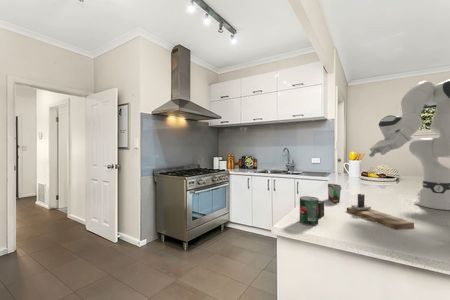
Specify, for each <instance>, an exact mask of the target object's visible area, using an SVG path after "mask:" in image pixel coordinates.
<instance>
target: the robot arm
mask: <svg viewBox="0 0 450 300" xmlns="http://www.w3.org/2000/svg"><path fill="white" fill-rule="evenodd" d="M400 101H401V102H400V105H401V110H402V113H403V114H402V115H401V116H397V115H392V114H391V115H387V116H384V117H383V118H382V119H381V120H380V121H379V123H378V128H379V129H380V131H381V133H382V135H383V137H384V139H381V140H378V141H377V142H376V143H375V144H373V145H372V146H371V147H370V148H369V151H371V152H370V153H369V154H368V156H369V157H370V158H373V157H375V155H376V154H380V155H382V156H383V155H386V154H387V153H389V152H390V151H393V150H396V149H400V148H401V147H403V146H404V145H405V144H407V143H408V142H410V143H409V145H408V150H409V152H410V153H411V155H412V156H413V157H414V156H415V157H416V159H418V160H419V162H420V163H421V166H422V170H423V180H422V188H421V189H420V190H419V191H418V192H417V200H415V201H414V205H416V206H420V207H424V208H430V209H433V210H434V209H435V210H446V211H450V167H449V166H448V165H446V164H444V163H441V161H440V160H439V159H438V158H450V79H447V80H444V81H443V82H440V83H437V84H435V85H434V83H432V82H431V81H429V80H423V81H420V82H418V83H416V84H415V85H413V86H412V87H410V89H409V90H408V91H407V92H406V93H405V94H404V95H403V96H402V99H401V100H400ZM432 106H436V107H435V109H436V110H435V112H434V113H433V117H432V120H431V123H430V127H429V128H430V130H431V132H432V133H434V134H436V135H438V137H426V138H425V137H422V138H421V137H420V138H418V139H417V138H416V139H413V137H412V136H413V135H414V134H415V133H416V132H417V131H418V130H419V129H420V128H421V127H422V125H423V122H424V121H423V119H422V117H421V114H422V112H423V109H424V108H428V107H429V108H430V107H432Z"/></svg>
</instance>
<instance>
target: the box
mask: <svg viewBox="0 0 450 300" xmlns="http://www.w3.org/2000/svg"><path fill="white" fill-rule="evenodd" d="M323 217H325V201H324V200H320V199H319V200H318V219H322V218H323Z"/></svg>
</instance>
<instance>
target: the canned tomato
mask: <svg viewBox="0 0 450 300" xmlns="http://www.w3.org/2000/svg"><path fill="white" fill-rule="evenodd" d="M318 200H320V199H319V198H318V197H315V196H309V195H308V196H307V195H306V196H299V223H300V224H302V225H303V226H310V227H313V226H314V227H315V226H318V225H319V218H318Z"/></svg>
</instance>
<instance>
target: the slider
mask: <svg viewBox="0 0 450 300" xmlns="http://www.w3.org/2000/svg"><path fill="white" fill-rule="evenodd" d="M365 202H366V200H365V194H363V193H357V204H351V206H350V207H352V208H354V209H357V210H367V209H372V206H370V205H366V204H365Z"/></svg>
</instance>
